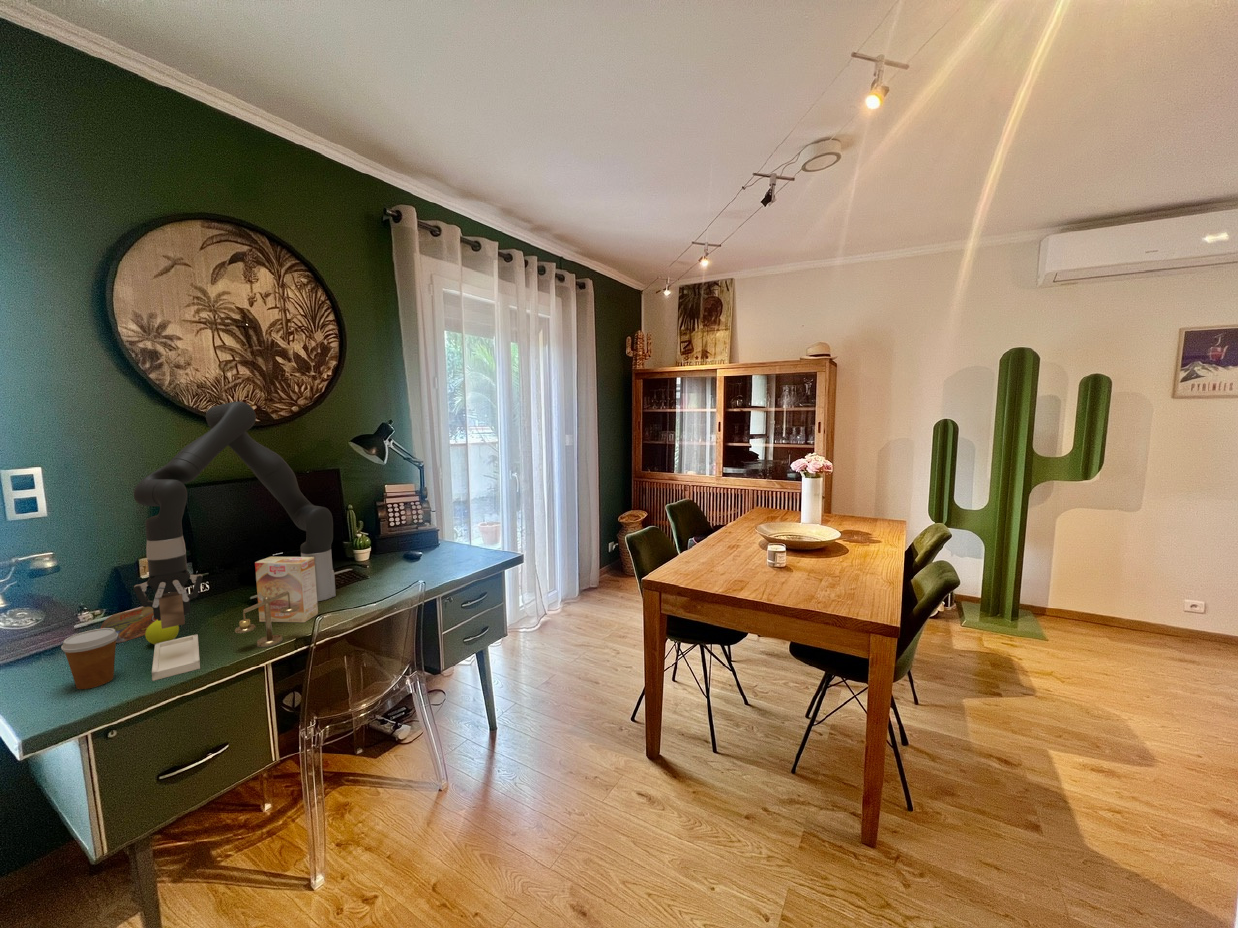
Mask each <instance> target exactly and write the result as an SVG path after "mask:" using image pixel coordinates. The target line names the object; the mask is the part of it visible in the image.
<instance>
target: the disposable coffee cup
mask: <svg viewBox="0 0 1238 928" xmlns="http://www.w3.org/2000/svg"><path fill="white" fill-rule="evenodd" d="M117 637H118V633H116V631H115V629H112V628H102V629H101V628H96V629H90V630H87V631H83V632H79V633H76V634H73V635H70V636H69V637H67V638H65V639H64V640H63V643H62V645H61V646H60V649H61V650H62V651H63V652H64V653H65V656H66V659H67V662H68V667H69V669H70V673H71V675H72V678H73V681H74V683H75V686H76V687H75V688H76V689H77V690H88V689H93V688H96V687H100V686H103V685H104V684H108V683H110V682H111V681H112V680H113V679H114V675H115V659H116V646H117V643H116V639H117Z"/></svg>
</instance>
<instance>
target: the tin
mask: <svg viewBox="0 0 1238 928" xmlns="http://www.w3.org/2000/svg"><path fill="white" fill-rule="evenodd" d="M156 620H158V619H155V618H154V612H153V608H152V607H143V605H141V606H139V607H135V608H132V609H129V610H125V611H122V612H118V613H114V614H111V615H110V616H108V617H107V618H106V619H105V620H104V621H103V622H102V623H101V626H100V629H102V628H112V629H115V631H116V633H118V637H117V639H116V644H120V643H124V642H128V641H131V640H133V639H137V638H140V637H143V636H145V633H146V630H147V628H148V627H149V626H150V625H151V624H152V623H153V622H155V621H156Z"/></svg>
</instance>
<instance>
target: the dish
mask: <svg viewBox="0 0 1238 928" xmlns="http://www.w3.org/2000/svg"><path fill="white" fill-rule="evenodd" d="M151 667H152V668H151V680H152V682H154V681H157V680H161V679H164V678H165V679H166V678H169V677H173V676H177V675H181V674H184V673H188V672H192V671H195V670H200V669H201V660H200V648H199V636H198V633H197V634H192V635H187V636H184V637H179V638H174V639H173V640H170V641H165V642H161V643H156V644H154V651H153V658H152V666H151Z"/></svg>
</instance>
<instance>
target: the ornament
mask: <svg viewBox="0 0 1238 928" xmlns="http://www.w3.org/2000/svg"><path fill="white" fill-rule="evenodd" d="M179 626H180V625H177V626H173V627H168V628H163V629H162V626H161V621H158V620H156V621H155V622H153V623H152V624H151V625H150V626H149V627H148V628H147V630H146V633H145V635H144V636H145V640H146V641H147V642H149V644H152V645H155V644H156V643H161V642H165V641H170V640H174V639H176V637H177V636H178V635H179V631H180V627H179Z"/></svg>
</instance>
